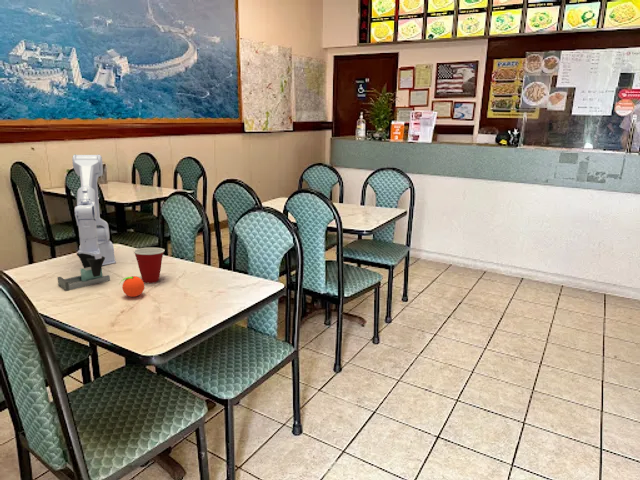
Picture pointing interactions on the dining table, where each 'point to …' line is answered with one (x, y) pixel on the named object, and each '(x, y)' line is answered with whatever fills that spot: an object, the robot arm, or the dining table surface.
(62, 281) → the rail
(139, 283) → the clementine
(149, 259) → the plastic cup
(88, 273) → the module
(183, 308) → the dining table surface
